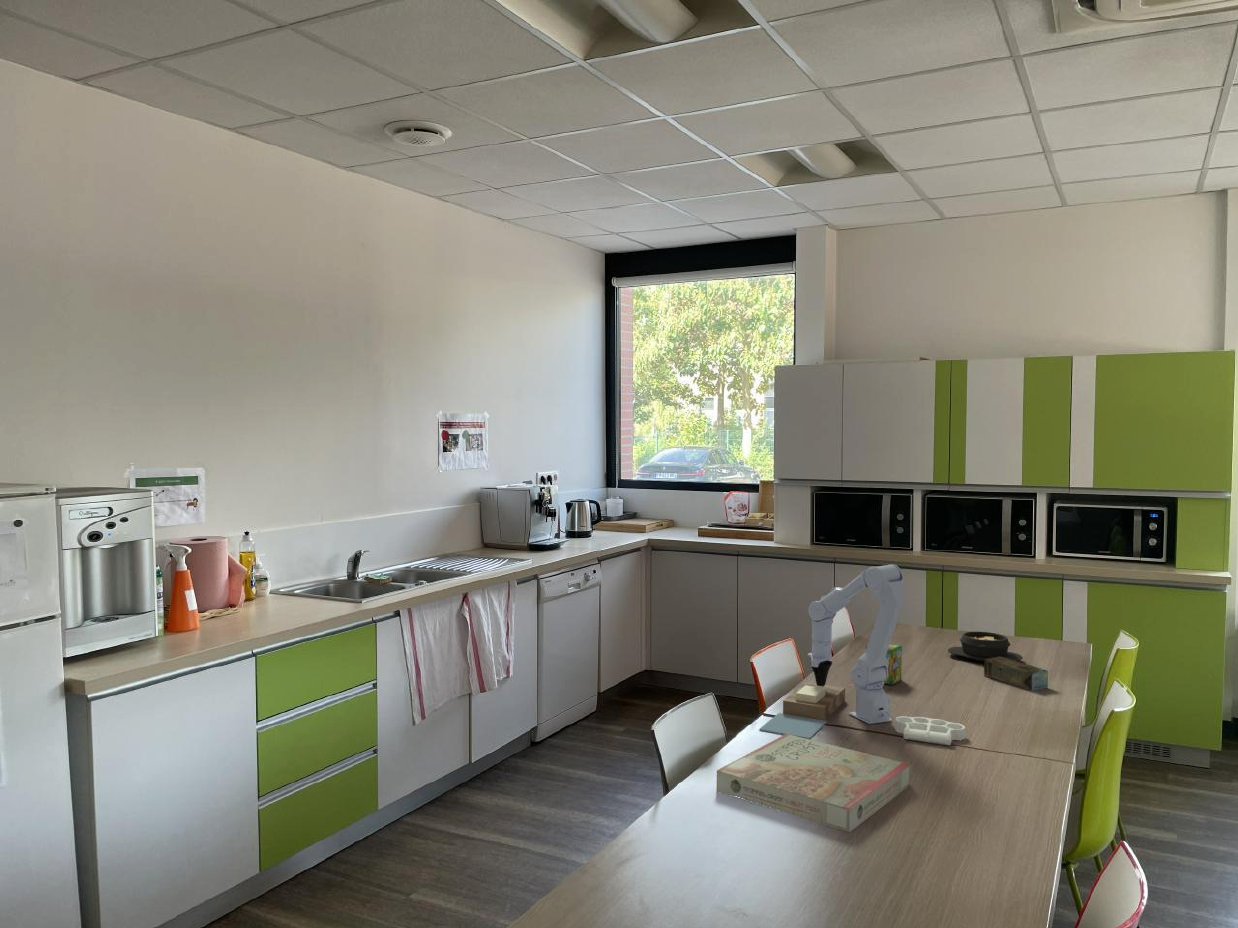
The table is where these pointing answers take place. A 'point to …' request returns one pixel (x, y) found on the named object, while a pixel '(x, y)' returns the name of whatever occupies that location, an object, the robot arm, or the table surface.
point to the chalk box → (894, 663)
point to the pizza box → (815, 781)
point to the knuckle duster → (929, 730)
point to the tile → (810, 694)
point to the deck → (815, 710)
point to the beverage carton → (1016, 673)
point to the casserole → (984, 647)
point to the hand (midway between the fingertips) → (820, 685)
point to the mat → (793, 725)
